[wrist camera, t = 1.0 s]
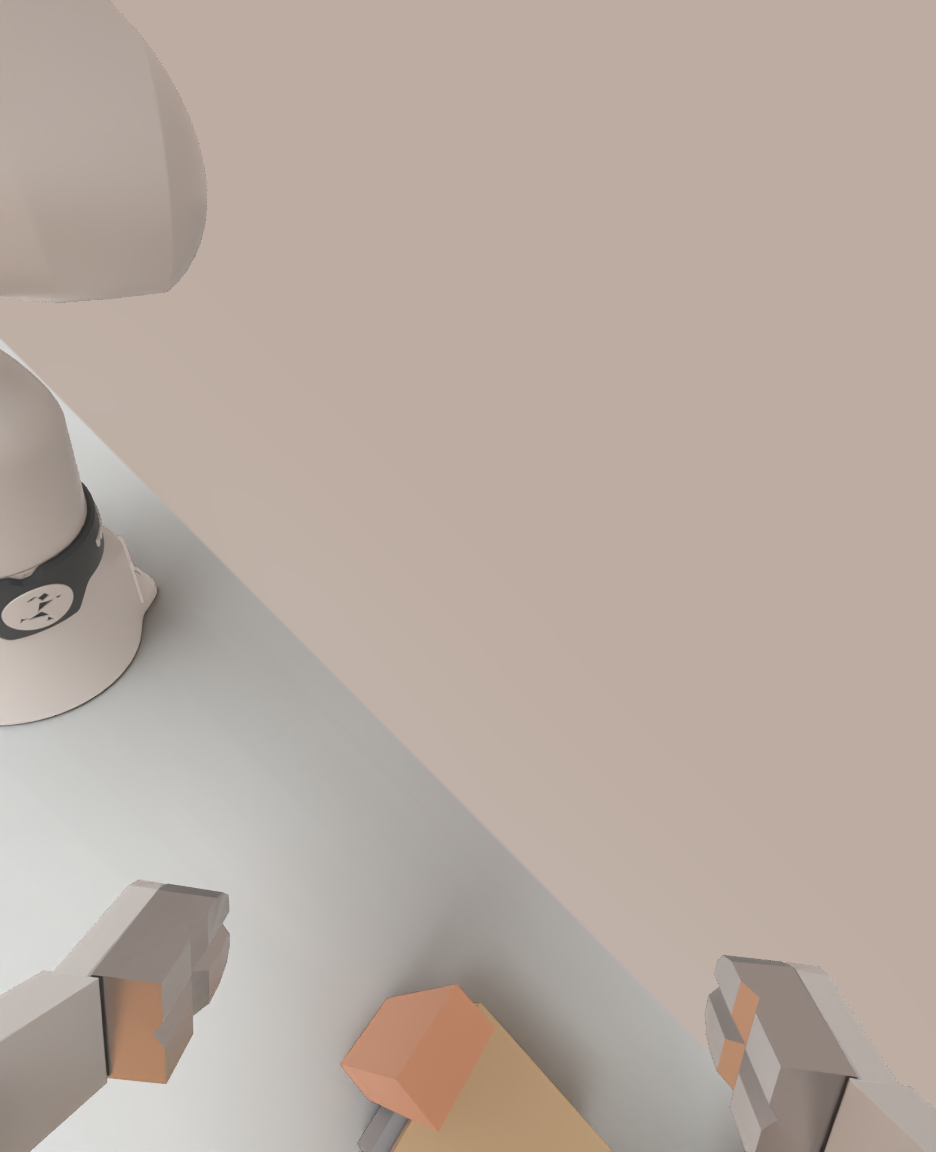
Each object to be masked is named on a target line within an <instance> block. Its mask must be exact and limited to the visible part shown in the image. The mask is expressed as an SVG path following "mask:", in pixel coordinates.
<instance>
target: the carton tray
mask: <svg viewBox="0 0 936 1152" xmlns="http://www.w3.org/2000/svg"><path fill="white" fill-rule="evenodd" d="M494 1030H495V1027H494V1026H493V1025H492V1024H491V1023H490V1021H489V1020H488V1019H487V1018H486V1017H485V1016H484V1015H483V1013H482V1012H481V1011H480V1010H479V1009H478V1008H477V1007H476V1006H475V1004H474V1003H473V1002H472V1001H471V1000H470V999H469V998H468V996H467V995H466V994H465V993H464V992H463V991H462V990H461V989H460V987H459V986H458V985H457V984H454V985H449V986H444V987H439V988H434V989H429V990H424V991H420V992H415V993H410V994H405V995H400V996H395V997H390V998H387V999H386V1000H385V1002H384V1003H383V1005H382V1006H381V1007H380V1009H379V1010H378V1012H377V1013H376V1015H375V1016H374V1017H373V1019H372V1020H371V1022H370V1023H369V1024H368V1026H367V1027H366V1029H365V1030H364V1031H363V1033H362V1034H361V1036H360V1037H359V1038H358V1040H357V1041H356V1043H355V1044H354V1046H353V1047H352V1048H351V1050H350V1051H349V1053H348V1054H347V1055H346V1057H345V1058H344V1060H343V1061H342V1062H341V1064H340V1065H341V1066H342V1067H343V1069H344V1070H345V1071H346V1072H347V1074H348V1075H349V1076H350V1078H351V1079H352V1080H353V1081H354V1083H355V1084H356V1085H357V1086H358V1088H359V1089H360V1090H361V1092H362V1093H363V1094H364V1095H365V1097H366V1098H367V1099H368V1100H370V1101H372V1102H374V1103H376V1104H379V1105H381V1106H380V1108H379V1109H378V1111H377V1112H376V1114H375V1116H374V1117H373V1119H372V1120H371V1122H370V1124H369V1125H368V1127H367V1128H366V1130H365V1132H364V1133H363V1135H362V1136H361V1138H360V1139H359V1141H358V1143H357V1144H358V1146H359V1147H360V1148H361V1150H362V1151H363V1152H390V1151H391V1149H392V1147H393V1145H394V1144H395V1142H396V1140H397V1139H398V1137H399V1135H400V1134H401V1132H402V1130H403V1128H404V1127H405V1125H406V1123H407V1122H408V1120H409V1119H411V1120H413V1121H415V1122H417V1123H420V1124H422V1125H424V1126H426V1127H428V1128H430V1129H432V1130H435V1131H437V1132H439V1131H440V1129H441V1127H442V1125H443V1123H444V1121H445V1120H446V1118H447V1116H448V1114H449V1112H450V1110H451V1109H452V1107H453V1105H454V1103H455V1101H456V1099H457V1098H458V1096H459V1094H460V1092H461V1090H462V1088H463V1087H464V1085H465V1083H466V1081H467V1079H468V1078H469V1076H470V1074H471V1072H472V1070H473V1068H474V1067H475V1065H476V1063H477V1061H478V1059H479V1057H480V1056H481V1054H482V1052H483V1050H484V1048H485V1046H486V1045H487V1043H488V1041H489V1039H490V1037H491V1035H492V1034H493V1032H494Z"/></svg>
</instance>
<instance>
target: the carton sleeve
mask: <svg viewBox="0 0 936 1152" xmlns="http://www.w3.org/2000/svg"><path fill="white" fill-rule="evenodd" d="M474 1004H475V1006H476V1007H477V1008H478V1009H479V1010H480V1011H481V1012H482V1013H483V1015H484V1016H485V1017H486V1018H487V1019H488V1020H489V1021H490V1023H491V1024H492V1025H493V1026H494V1027H495V1030H494V1032H493V1034H492V1035H491V1037H490V1039H489V1041H488V1043H487V1045H486V1046H485V1048H484V1050H483V1052H482V1054H481V1056H480V1057H479V1059H478V1061H477V1063H476V1065H475V1067H474V1068H473V1070H472V1072H471V1074H470V1076H469V1078H468V1079H467V1081H466V1083H465V1085H464V1087H463V1088H462V1090H461V1092H460V1094H459V1096H458V1098H457V1099H456V1101H455V1103H454V1105H453V1107H452V1109H451V1110H450V1112H449V1114H448V1116H447V1118H446V1120H445V1121H444V1123H443V1125H442V1127H441V1129H440V1131H439V1132H437V1131H435V1130H432V1129H430V1128H428V1127H426V1126H424V1125H422V1124H420V1123H417V1122H415V1121H413V1120H411V1119H409V1120H408V1122H407V1123H406V1125H405V1127H404V1128H403V1130H402V1132H401V1134H400V1135H399V1137H398V1139H397V1140H396V1142H395V1144H394V1145H393V1147H392V1149H391V1151H390V1152H611V1149H610V1148H609V1146H608V1145H607V1144H606V1143H605V1142H604V1141H603V1140H602V1139H601V1137H600V1136H599V1135H598V1134H597V1133H596V1132H595V1131H594V1129H593V1128H592V1127H591V1126H590V1125H589V1124H588V1123H587V1122H586V1120H585V1119H584V1118H583V1117H582V1116H581V1115H580V1114H579V1113H578V1111H577V1110H576V1109H575V1108H574V1107H573V1106H572V1105H571V1104H570V1102H569V1101H568V1100H567V1099H566V1098H565V1097H564V1096H563V1095H562V1093H561V1092H560V1091H559V1090H558V1089H557V1088H556V1087H555V1086H554V1084H553V1083H552V1082H551V1081H550V1080H549V1079H548V1078H547V1076H546V1075H545V1074H544V1073H543V1072H542V1071H541V1070H540V1069H539V1067H538V1066H537V1065H536V1064H535V1063H534V1062H533V1061H532V1060H531V1058H530V1057H529V1056H528V1055H527V1054H526V1053H525V1052H524V1051H523V1049H522V1048H521V1047H520V1046H519V1045H518V1044H517V1043H516V1042H515V1040H514V1039H513V1038H512V1037H511V1036H510V1035H509V1034H508V1033H507V1031H506V1030H505V1029H504V1028H503V1027H502V1026H501V1025H500V1023H499V1022H498V1021H497V1020H496V1019H495V1018H494V1017H493V1016H492V1014H491V1013H490V1012H489V1011H488V1010H487V1009H486V1008H485V1007H484V1005H483V1004H482V1003H481V1002H480V1003H474Z"/></svg>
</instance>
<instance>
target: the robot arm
mask: <svg viewBox="0 0 936 1152" xmlns="http://www.w3.org/2000/svg"><path fill="white" fill-rule="evenodd" d="M206 212H207V185H206V175H205V168H204V163H203V159H202V154H201V150H200V146H199V142H198V139H197V136H196V133H195V130H194V128H193V125H192V122H191V119H190V117H189V114H188V112H187V110H186V108H185V106H184V103H183V101H182V99H181V97H180V95H179V93H178V91H177V89H176V87H175V86H174V84H173V82H172V80H171V78H170V76H169V75H168V73H167V71H166V70H165V68H164V67H163V65H162V64H161V62H160V61H159V59H158V58H157V57H156V55H155V53H154V52H153V50H152V49H151V48H150V46H149V45H148V44H147V43H146V41H145V40H144V38H143V37H142V36H141V34H140V33H139V32H138V31H137V29H136V28H135V27H134V26H133V25H132V24H131V23H130V22H129V21H128V20H127V18H126V17H125V16H124V15H123V14H122V13H121V12H120V11H119V10H118V9H117V8H116V7H115V6H114V4H112V2H111V1H110V0H0V298H7V299H18V300H30V301H42V302H55V303H66V302H78V301H90V300H102V299H113V298H122V297H131V296H139V295H148V294H156V293H164V292H168V291H169V290H170V289H171V288H172V287H173V286H174V285H175V284H176V283H177V282H179V280H180V279H181V278H182V277H183V275H184V274H185V273H186V271H187V270H188V268H189V266H190V265H191V263H192V261H193V259H194V258H195V256H196V253H197V251H198V248H199V246H200V243H201V240H202V236H203V231H204V228H205V222H206ZM156 594H157V587H156V584H155V581H154V580H153V579H152V578H151V577H150V576H149V575H147V574H146V573H144V572H143V571H141V570H140V569H139V568H137V567H136V566H134V565H133V564H132V561H131V558H130V555H129V552H128V549H127V545H126V543H125V541H124V539H123V538H122V537H121V536H120V535H115V534H114V533H112V532H111V531H110V530H109V529H107V528H106V527H104V526H102V521H101V517H100V514H99V511H98V509H97V506H96V505H95V503H94V501H93V498H92V496H91V494H90V492H89V490H88V489H87V487H86V486H85V485H84V484H83V483H82V482H81V479H80V476H79V472H78V468H77V464H76V460H75V456H74V452H73V448H72V444H71V441H70V437H69V433H68V429H67V425H66V421H65V417H64V414H63V411H62V409H61V407H60V405H59V404H58V402H57V400H56V399H55V397H54V396H53V395H52V393H51V392H50V391H49V390H48V388H47V387H46V386H45V385H44V384H43V383H42V382H41V381H40V380H39V379H38V378H37V377H36V376H34V375H33V374H32V373H31V372H30V371H29V370H28V369H26V368H25V367H24V366H23V365H22V364H20V363H19V362H18V361H17V360H15V359H14V358H12V357H11V356H10V355H8V354H7V353H5V352H4V351H2V350H0V725H12V724H21V723H27V722H32V721H37V720H41V719H45V718H48V717H52V716H55V715H57V714H60V713H63V712H65V711H68V710H70V709H72V708H75V707H77V706H79V705H81V704H83V703H85V702H86V701H88V700H90V699H91V698H93V697H95V696H96V695H98V694H99V693H101V692H102V691H103V690H105V689H106V688H107V687H108V686H110V685H111V684H112V683H113V682H114V681H115V680H116V679H117V678H118V677H119V676H120V675H121V674H122V673H123V672H124V670H125V669H126V668H127V667H128V665H129V664H130V662H131V661H132V659H133V657H134V656H135V653H136V651H137V649H138V646H139V643H140V639H141V633H142V621H143V616H144V613H145V612H146V610H147V609H148V608H149V606H150V605H151V603H152V602H153V600H154V598H155V596H156ZM228 913H229V897H228V894H225V893H223V892H217V891H211V890H204V889H198V888H192V887H185V886H179V885H173V884H163V883H156V882H150V881H143V880H137V881H136V882H134V883H132V884H131V885H129V886H128V887H127V888H126V889H125V890H124V891H123V892H122V893H121V894H120V896H119V897H118V898H117V899H116V900H115V901H114V902H113V904H112V905H111V906H110V907H109V908H108V909H107V910H106V912H105V913H104V914H103V915H102V916H101V917H100V919H99V920H98V921H97V922H96V923H95V924H94V925H93V927H92V928H91V929H90V930H89V931H88V932H87V933H86V935H85V936H84V937H83V938H82V939H81V940H80V941H79V943H78V944H77V945H76V946H75V947H74V948H73V949H72V951H71V952H70V953H69V954H68V955H67V956H66V957H65V959H64V960H63V961H62V962H61V963H60V964H59V965H58V967H57V968H56V969H55V970H54V971H42V972H40V973H38V974H37V975H35V976H33V977H31V978H30V979H28V980H26V981H24V982H23V983H21V984H19V985H17V986H16V987H14V988H12V989H11V990H9V991H7V992H5V993H4V994H2V995H0V1152H30V1151H31V1150H32V1149H33V1148H34V1147H36V1146H37V1145H38V1144H39V1143H40V1142H41V1141H42V1140H43V1139H44V1138H46V1137H47V1136H48V1135H49V1134H50V1133H51V1132H52V1131H53V1130H55V1129H56V1128H57V1127H58V1126H59V1125H60V1124H61V1123H62V1122H63V1121H65V1120H66V1119H67V1118H68V1117H69V1116H70V1115H71V1114H72V1113H74V1112H75V1111H76V1110H77V1109H78V1108H79V1107H80V1106H81V1105H83V1104H84V1103H85V1102H86V1101H87V1100H88V1099H89V1098H90V1097H91V1096H93V1095H94V1094H95V1093H96V1092H97V1091H98V1090H99V1089H100V1088H102V1087H103V1086H104V1085H105V1084H106V1083H107V1078H113V1079H123V1080H133V1081H142V1082H152V1083H162V1084H166V1083H167V1082H168V1080H169V1078H170V1076H171V1074H172V1072H173V1070H174V1069H175V1067H176V1065H177V1063H178V1061H179V1059H180V1057H181V1056H182V1054H183V1052H184V1050H185V1048H186V1046H187V1044H188V1042H189V1041H190V1039H191V1037H192V1035H193V1015H194V1014H196V1013H197V1012H198V1011H200V1010H201V1009H202V1008H204V1007H205V1006H206V1005H207V1004H209V1003H210V1001H211V999H212V997H213V995H214V993H215V991H216V989H217V987H218V985H219V983H220V980H221V977H222V975H223V972H224V969H225V966H226V963H227V958H228V952H229V947H230V933H229V932H228V931H227V929H226V928H225V927H224V925H223V924H222V923H223V921H224V920H225V918H226V916H227V914H228ZM714 975H715V977H716V979H717V982H718V984H719V987H718V988H717V989H716V990H715V991H713V992H712V993H711V994H710V995H709V996H708V1000H707V1005H706V1010H705V1021H706V1022H705V1023H706V1036H707V1040H708V1045H709V1049H710V1053H711V1056H712V1059H713V1062H714V1064H715V1067H716V1070H717V1072H718V1073H719V1074H720V1075H721V1076H722V1078H723V1079H724V1080H725V1081H726V1082H727V1083H728V1084H729V1086H730V1087H731V1088H732V1089H733V1090H734V1091H733V1095H732V1099H731V1103H730V1110H731V1112H732V1115H733V1118H734V1121H735V1123H736V1126H737V1129H738V1132H739V1134H740V1137H741V1140H742V1143H743V1145H744V1148H745V1151H746V1152H936V1108H935V1107H934V1106H932V1104H930V1103H929V1102H928V1101H927V1100H925V1099H924V1098H923V1097H922V1096H921V1095H920V1094H919V1093H918V1092H916V1091H915V1090H914V1089H913V1088H912V1087H910V1086H903V1085H899V1083H898V1081H897V1080H896V1078H895V1077H894V1075H893V1074H892V1072H891V1071H890V1069H889V1068H888V1066H887V1065H886V1063H885V1061H884V1060H883V1058H882V1057H881V1055H880V1054H879V1052H878V1051H877V1049H876V1047H875V1046H874V1044H873V1043H872V1041H871V1040H870V1038H869V1037H868V1035H867V1034H866V1032H865V1031H864V1029H863V1027H862V1026H861V1025H860V1023H859V1021H858V1020H857V1018H856V1017H855V1015H854V1014H853V1012H852V1010H851V1009H850V1008H849V1006H848V1004H847V1003H846V1001H845V1000H844V998H843V997H842V995H841V993H840V992H839V990H838V989H837V987H836V986H835V984H834V983H833V981H832V980H831V978H830V976H829V975H828V974H827V973H826V972H825V971H824V970H823V969H822V968H820V967H819V966H812V965H803V964H795V963H783V962H780V961H771V960H761V959H754V958H745V957H736V956H727V955H722V956H721V957H720V958H719V959H718V961H717V964H716V968H715V971H714Z"/></svg>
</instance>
